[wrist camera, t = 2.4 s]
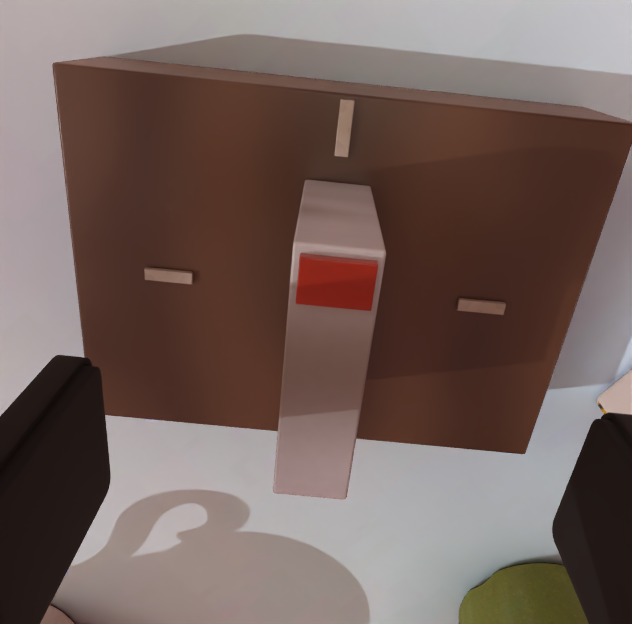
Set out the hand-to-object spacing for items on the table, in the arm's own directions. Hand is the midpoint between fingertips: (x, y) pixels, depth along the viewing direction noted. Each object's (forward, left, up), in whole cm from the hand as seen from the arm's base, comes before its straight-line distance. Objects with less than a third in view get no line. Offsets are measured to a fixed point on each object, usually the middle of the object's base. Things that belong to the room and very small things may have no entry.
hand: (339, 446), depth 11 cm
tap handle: (0, 0, -7) cm, 7 cm away
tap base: (0, 0, -10) cm, 10 cm away
